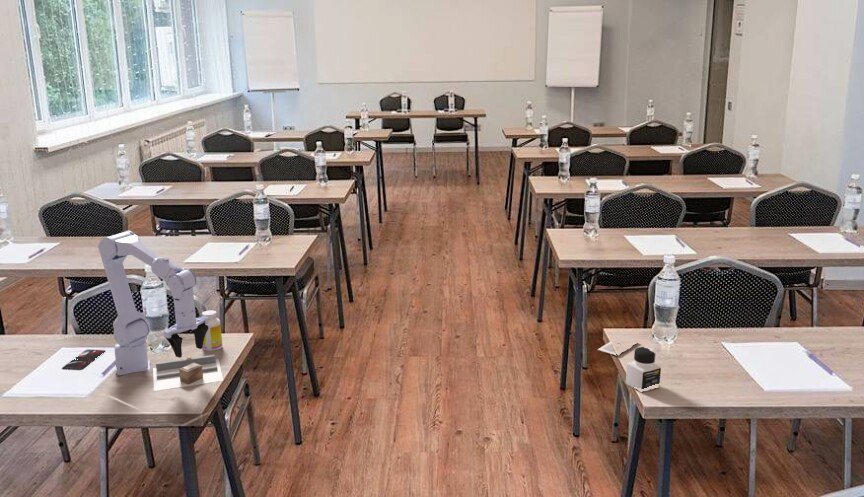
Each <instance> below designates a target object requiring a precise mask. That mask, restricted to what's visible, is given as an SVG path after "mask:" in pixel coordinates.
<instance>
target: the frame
mask: <svg viewBox="0 0 864 497" xmlns="http://www.w3.org/2000/svg"><path fill="white" fill-rule="evenodd" d="M179 373H180V382H183V383H186V384H188V385H189V384H191V383H193V382H195V381H198V380H200V379H202V378H203V371H202V365H199V364H197V363H192V364H189V365H187V366H184V367H182V368H180V369H179Z"/></svg>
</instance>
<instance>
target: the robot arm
mask: <svg viewBox="0 0 864 497" xmlns="http://www.w3.org/2000/svg"><path fill="white" fill-rule="evenodd" d="M97 247H98V251H99V254H100V258H101V260H102V261H101V262H102V265H103V269H104V271H105V274H106V275H105V276H106V278H107V282H108V285H109V290H110V293H111V295H112V299H113V303H114V305H115V309H116V312H117V317H116V319H115V320H114V321H113V323H112V326H113V338H114V340H115V342H116V343H115V344H114V356H115V368H116V373H117V376H123V375H128V374H132V373H137V372H145V371H150V369H151V367H150V364H151V360H150V359H148V351H147V340H148V336H149V335H150V333H151V327H150V324H149V322H148V321H147V319H146V317H145V314H144V313H142V312H141V311H138V310H137V308H136V305H135V301H134V297H133V295H132V292H131V287H130V284H129V280H128V277H127V274H126V270H125V267H124V266H125V265H124V261H125V260H126V258H127V257H128V256H133V257H135V259H137V260H140V261H141V262H143V263H144V264H146V265H148V266H150V270H151V272H152V273H153V274H154V275H156V276H157V277H158V278H160V279H161V280H162V281H164V282H166V285H167V287H168V289H169V291H170V292H171V293H170V294H171V297H172V298H173V306H174V314H175V315H174V317H175V324H174V325H172V326H170V327H169V328H168V329H165V330H163V336H164V338H165V339H166V341H167V342H168V343H169V344H170V346H171V348H172V351H173V353H174V355H175V357H176V358H179V359H182V357H183V353H182V352H183V350H182V349H183V348H182V345H183V339H184V337H181V336H180V335H179V334H181V333H183V332H186V331H189V330H192V332H193V335H194V341H195V347H196V349H199V350H203V342H204V338H205V335H206V333H207V331H208V325H205V324H208V317H205V316H203V317H202V316H200V317H197V315H196V307H195V306H196V304H195V296H194V295H195V294H194V287H195V286H196V284H197V282H198V281H197V275H196V274H195V273H194V271H193V270H192V269H190V268H184V267H180V266H179V265H177V264H176V263H174V262H173V261H171V260H170V258H168V257H167V256H160V257H159V256H158V255H156V254H155V253H154V252H153V251H151V249H149V248H148V247H147V246H146V245H144V244H143V243H142V242H141V241H140V237H139V236H138V235H137V234H135V233H134V231H131V230H124V231H123V232H120V233H119V232H118V233H117V234H112V235H110V236H104V237H102V238H101V240H100V241H99V243H98V245H97Z"/></svg>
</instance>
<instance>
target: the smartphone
mask: <svg viewBox="0 0 864 497" xmlns="http://www.w3.org/2000/svg"><path fill="white" fill-rule="evenodd" d="M104 352H105V353H106V350H105V349H85V350H84V351H82V352H81V353H80V354H79V356H78V355H77V356H78V357H77V356H75V358H76V360H75V359H74V358H73V359H74V360H73V359H72V360H70V361H69V362H67V363H66V364H65V365H63V366H62V367H61V370H67V369H68V370H69V371H70V370H72V371H82V370H84V369H85V368H87V367H88V366H89V365H91V364H92V363H93V362H94V361H96V360H95V358H97V357H98V356H100V355H101V354H102V353H103V354H105V353H104ZM103 354H102V355H103ZM102 355H101V356H102ZM101 356H100V357H101ZM98 358H99V357H98ZM98 358H97V359H98ZM77 359H78V360H77ZM91 362H92V363H91ZM90 363H91V364H90ZM68 370H67V371H68Z"/></svg>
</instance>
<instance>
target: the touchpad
mask: <svg viewBox="0 0 864 497" xmlns="http://www.w3.org/2000/svg"><path fill="white" fill-rule="evenodd" d="M613 340H614V339H612V340H610V341H609V342H608V343H606V344H604V345H602V346H601V347H600V348H598V349H597V351H601V352H604V353H607V354H611V355H614V356H617V355H616V353H615V351H614V348H613V345H612V341H613ZM617 344H620V343H617ZM620 345H621V344H620Z"/></svg>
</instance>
